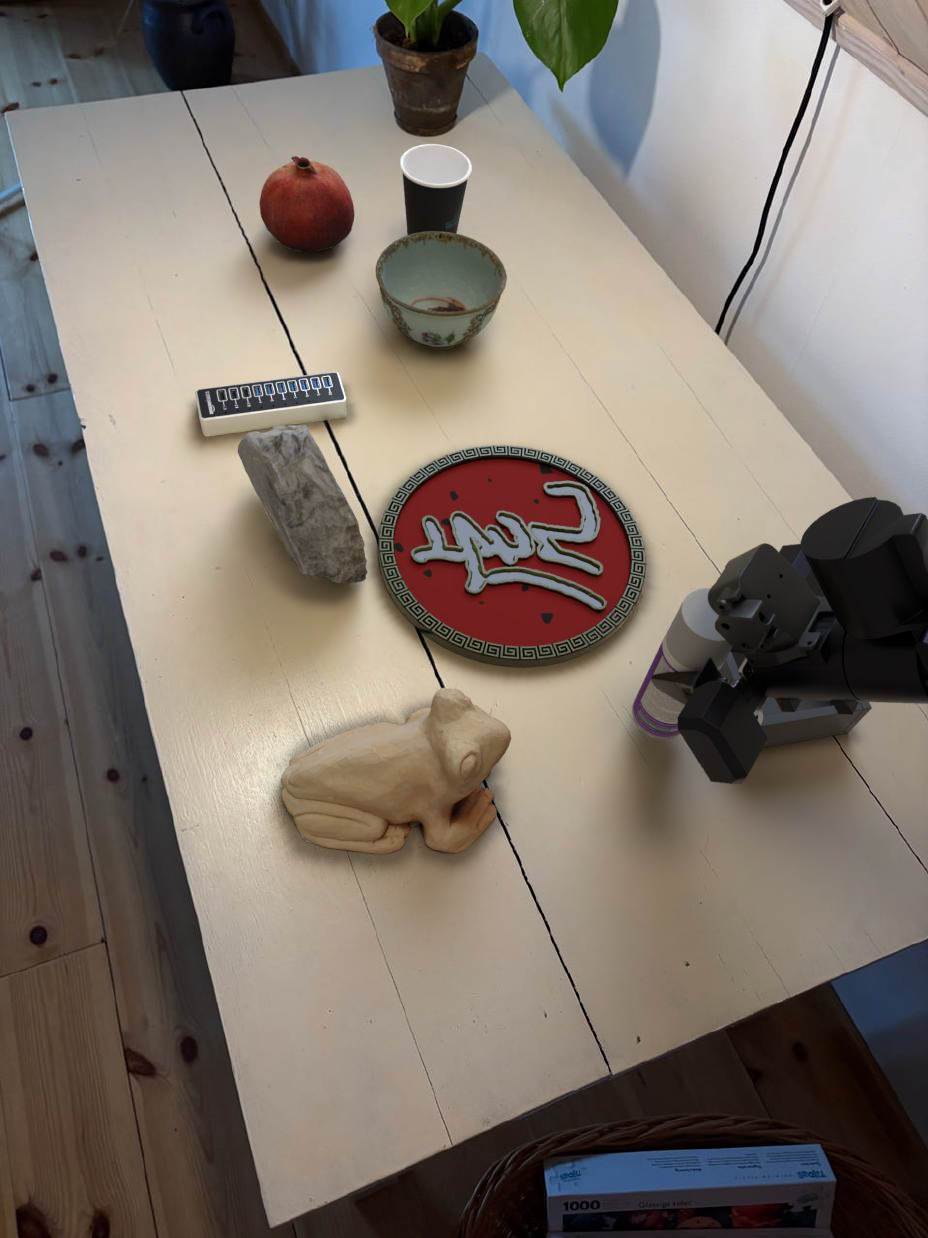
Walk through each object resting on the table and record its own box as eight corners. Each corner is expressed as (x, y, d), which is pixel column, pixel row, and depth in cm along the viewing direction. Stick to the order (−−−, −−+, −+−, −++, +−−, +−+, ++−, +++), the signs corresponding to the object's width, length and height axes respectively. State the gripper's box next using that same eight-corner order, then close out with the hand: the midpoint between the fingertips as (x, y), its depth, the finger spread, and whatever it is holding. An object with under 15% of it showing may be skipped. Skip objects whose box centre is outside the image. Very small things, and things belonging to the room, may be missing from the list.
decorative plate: (671, 654, 82) (384, 664, 79) (667, 661, 83) (384, 671, 80) (620, 443, 96) (373, 445, 93) (617, 451, 97) (373, 453, 94)
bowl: (495, 295, 109) (503, 233, 102) (501, 376, 101) (510, 316, 95) (376, 289, 108) (376, 226, 101) (373, 371, 100) (374, 309, 94)
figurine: (510, 848, 73) (529, 798, 64) (283, 870, 70) (272, 821, 62) (488, 706, 79) (502, 644, 71) (279, 722, 77) (269, 659, 69)
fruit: (251, 258, 109) (241, 176, 100) (279, 209, 114) (272, 128, 106) (340, 277, 108) (338, 197, 100) (364, 227, 114) (364, 147, 105)
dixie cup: (393, 231, 114) (395, 143, 104) (458, 229, 115) (465, 142, 106) (401, 273, 109) (404, 185, 100) (468, 271, 111) (477, 184, 102)
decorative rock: (373, 595, 85) (373, 484, 72) (304, 622, 82) (292, 512, 70) (302, 470, 92) (292, 349, 79) (237, 491, 90) (215, 370, 77)
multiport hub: (347, 417, 96) (347, 400, 94) (203, 437, 93) (199, 420, 91) (339, 387, 99) (338, 370, 97) (197, 405, 95) (194, 388, 93)
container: (655, 679, 80) (706, 575, 68) (698, 716, 78) (759, 616, 66) (620, 712, 78) (666, 611, 65) (663, 750, 76) (719, 654, 64)
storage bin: (799, 630, 86) (820, 601, 83) (848, 733, 81) (872, 708, 77) (692, 645, 85) (708, 617, 81) (735, 752, 79) (753, 727, 75)
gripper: (869, 468, 62) (675, 500, 74) (754, 668, 52) (554, 667, 64) (926, 597, 66) (735, 607, 78) (829, 801, 57) (629, 777, 69)
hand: (668, 658), depth 72 cm, fingers closed on container, 5 cm apart
